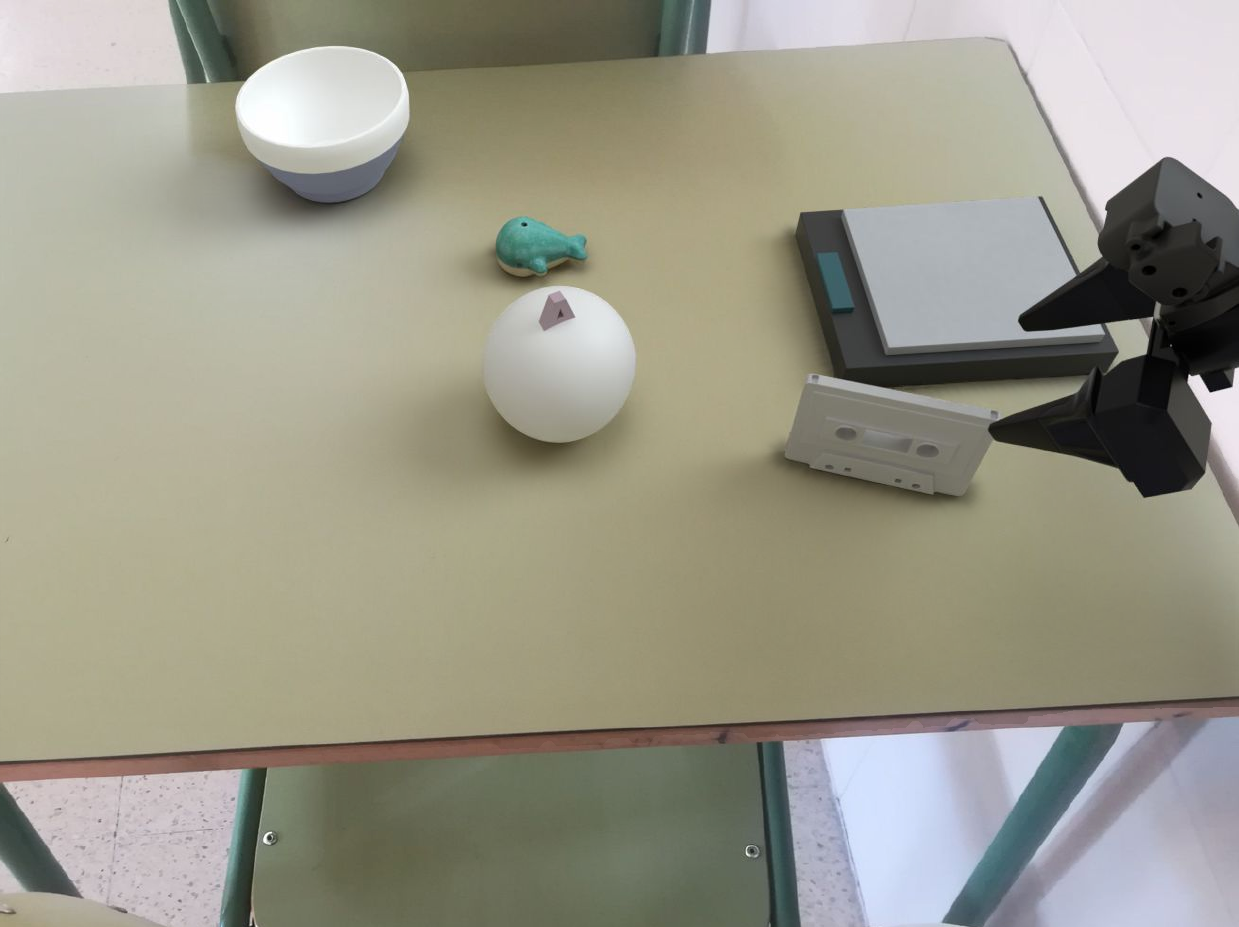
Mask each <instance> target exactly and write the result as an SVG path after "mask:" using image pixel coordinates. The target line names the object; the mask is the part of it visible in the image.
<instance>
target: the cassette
mask: <svg viewBox="0 0 1239 927" xmlns="http://www.w3.org/2000/svg"><path fill="white" fill-rule="evenodd" d="M1002 416H1003V412H1001V411H1000V410H996V409H993V408H992V409H991V408H987V407H981V406H976V405H971V404H966V403H961V402H958V401H952V400H947V399H942V398H941V399H940V398H937V397H933V396H927V395H922V394H917V393H911V392H907V391H902V390H898V389H897V390H895V389H892V388H888V387H887V388H886V387H877V386H872V385H867V384H862V383H857V382H852V381H847V380H842V379H837V378H836V377H831V376H827V375H821V374H817V373H809V374H807V375H806V377H805V381H804V384H803V387H802V391H801V394H800V399H799V402H798V405H797V409H796V412H795V415H794V419H793V423H792V426H791V430H790V431H789V434H788V436H787V440H786V444H785V447H784V450H783V452H784V458H785V459H787V460H790V461H795V462H799V463H803V464H808V466H809V468H810V469H814V470H819V471H822V472H828V473H832V474H836V475H841V476H846V477H851V478H854V479H858V480H859V479H860V480H864V481H867V482H868V481H869V482H873V483H877V484H882V485H887V486H891V487H896V488H900V489H905V490H910V491H915V492H919V493H922V494H927V495H931V496H932V495H934V494H935V493H941V494H945V495H949V496H950V495H951V496H953V497H962V496H963V495H965V493H966V491H967V490H968V487H969V486H970V484H971V483H972V480H973V478H974V476H975V475H976V473H977V471H978V469H979V467H980V465H981V463H982V461H983V459H984V458H985V456H986V454H987V452H988V451H989V449H990V447H991V444H992V443H993V441H994V439H993V437H992V436H991V435H990V433H989V432H988V427H989V425H990V424H991V423H993V422H996V421H998V420H1000V419H1002V418H1003V417H1002Z"/></svg>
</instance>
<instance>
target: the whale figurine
mask: <svg viewBox="0 0 1239 927" xmlns="http://www.w3.org/2000/svg"><path fill="white" fill-rule="evenodd" d="M587 242H588V240H587V238H586V236H585V235H583V234H574V235H571V236H567V235H566V234H564V233H562V232H561V231H559V230H557V229H555V228H553V227H552V226H549V225H547V224H546V223H545V222H544V221H538V220H536V219H534V218H532V217H530V216H529V217H528V216H517V217H514V218H511V219H510V220H508V221H507V222H506V223H505V224H503V226H502V227H501V228H500V229H499V231H498V233H497V235H496V240H495V257H496V260H497V262H498V264H499V265H500V267H501V268H502V270H504V271H505V272H507V273H508V274H510V275H513V276H516V277H522V278H523V277H528V276H533V275H535V276H537V277H543V276H546V274H547V272H548V270H550V269H552V268H554V267H557V266H559V265H561V264H563V263H565V262H567V261H572V262H574V263H585V262H586V261H587V260H588V255H587V253H586V251H585V248H586V245H587Z"/></svg>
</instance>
